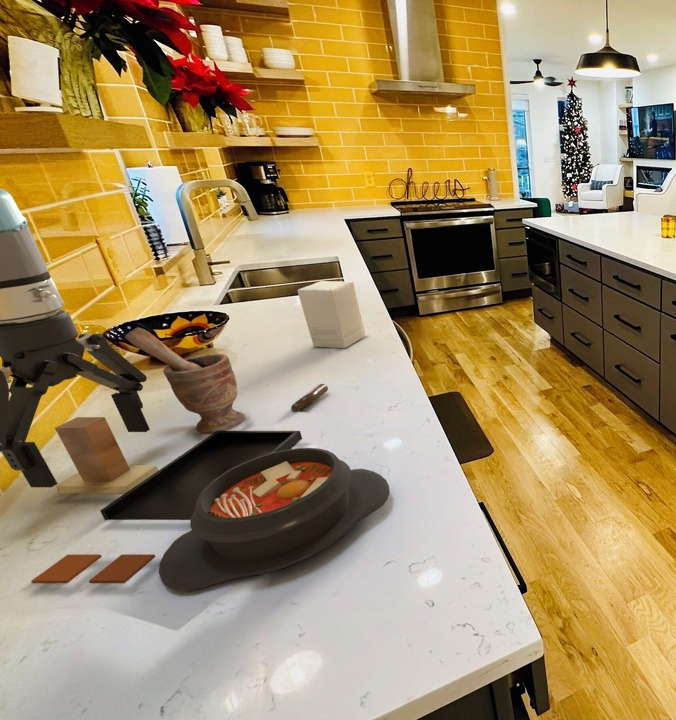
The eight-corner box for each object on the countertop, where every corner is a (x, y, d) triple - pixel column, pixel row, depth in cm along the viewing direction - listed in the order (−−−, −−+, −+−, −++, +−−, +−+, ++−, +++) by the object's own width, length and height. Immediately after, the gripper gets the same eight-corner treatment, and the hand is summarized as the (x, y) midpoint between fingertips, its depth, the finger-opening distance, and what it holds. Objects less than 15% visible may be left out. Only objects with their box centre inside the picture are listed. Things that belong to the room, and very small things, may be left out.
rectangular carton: (367, 336, 133) (354, 281, 127) (345, 348, 125) (331, 290, 119) (335, 334, 134) (321, 280, 128) (312, 347, 126) (295, 289, 120)
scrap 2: (94, 590, 57) (88, 580, 57) (126, 563, 61) (121, 554, 60) (129, 590, 57) (123, 580, 57) (159, 563, 61) (154, 554, 60)
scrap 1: (37, 590, 57) (30, 580, 57) (73, 563, 61) (67, 554, 60) (72, 590, 57) (66, 580, 57) (105, 563, 61) (100, 554, 60)
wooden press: (62, 499, 72) (23, 431, 67) (97, 478, 76) (63, 413, 72) (132, 499, 72) (98, 431, 67) (162, 478, 76) (132, 413, 72)
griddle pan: (108, 526, 67) (99, 510, 66) (292, 393, 103) (289, 381, 102) (212, 526, 67) (205, 510, 66) (360, 393, 103) (357, 381, 102)
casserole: (170, 637, 52) (137, 577, 49) (160, 542, 64) (134, 489, 61) (412, 521, 68) (401, 470, 64) (367, 463, 80) (355, 418, 77)
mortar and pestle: (166, 454, 82) (116, 341, 74) (169, 432, 89) (123, 326, 81) (252, 430, 89) (214, 325, 81) (249, 412, 95) (213, 312, 87)
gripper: (-75, 353, 52) (24, 515, 60) (143, 289, 75) (192, 412, 83) (-148, 353, 52) (-38, 515, 60) (92, 289, 75) (147, 412, 83)
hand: (96, 456), depth 72 cm, fingers open, 13 cm apart
